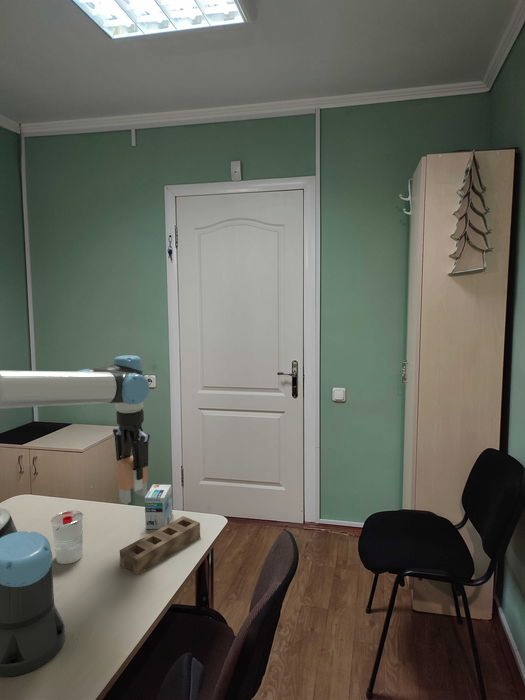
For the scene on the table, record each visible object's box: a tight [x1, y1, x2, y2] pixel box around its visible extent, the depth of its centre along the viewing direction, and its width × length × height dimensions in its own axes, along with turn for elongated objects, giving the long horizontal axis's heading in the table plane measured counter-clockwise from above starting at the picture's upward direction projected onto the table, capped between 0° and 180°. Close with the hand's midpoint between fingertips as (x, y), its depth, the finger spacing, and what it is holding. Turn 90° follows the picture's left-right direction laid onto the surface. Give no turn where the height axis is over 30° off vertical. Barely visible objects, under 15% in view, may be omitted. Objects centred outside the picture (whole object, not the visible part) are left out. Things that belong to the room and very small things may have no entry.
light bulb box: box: [144, 483, 173, 530], centre depth 148 cm, size 11×7×11 cm, turn 179°
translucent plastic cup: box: [50, 510, 84, 565], centre depth 128 cm, size 10×8×12 cm
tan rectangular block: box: [116, 455, 149, 505], centre depth 130 cm, size 8×4×12 cm, turn 146°
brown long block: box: [119, 516, 201, 576], centre depth 131 cm, size 24×7×4 cm, turn 144°
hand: (133, 487), depth 131 cm, fingers closed on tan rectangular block, 3 cm apart
